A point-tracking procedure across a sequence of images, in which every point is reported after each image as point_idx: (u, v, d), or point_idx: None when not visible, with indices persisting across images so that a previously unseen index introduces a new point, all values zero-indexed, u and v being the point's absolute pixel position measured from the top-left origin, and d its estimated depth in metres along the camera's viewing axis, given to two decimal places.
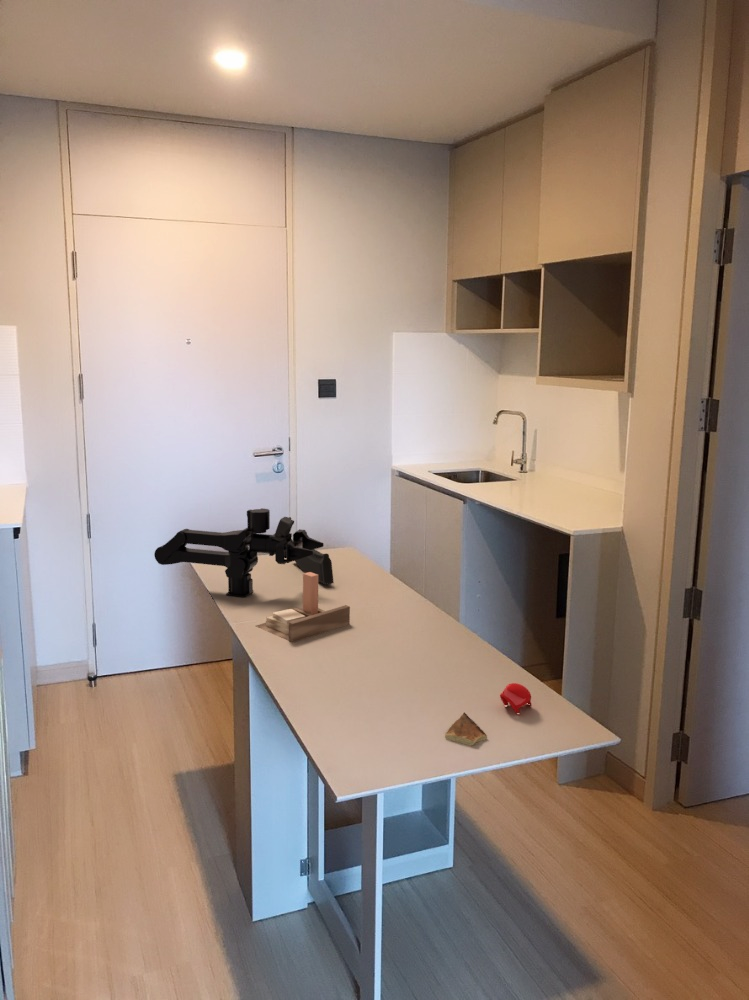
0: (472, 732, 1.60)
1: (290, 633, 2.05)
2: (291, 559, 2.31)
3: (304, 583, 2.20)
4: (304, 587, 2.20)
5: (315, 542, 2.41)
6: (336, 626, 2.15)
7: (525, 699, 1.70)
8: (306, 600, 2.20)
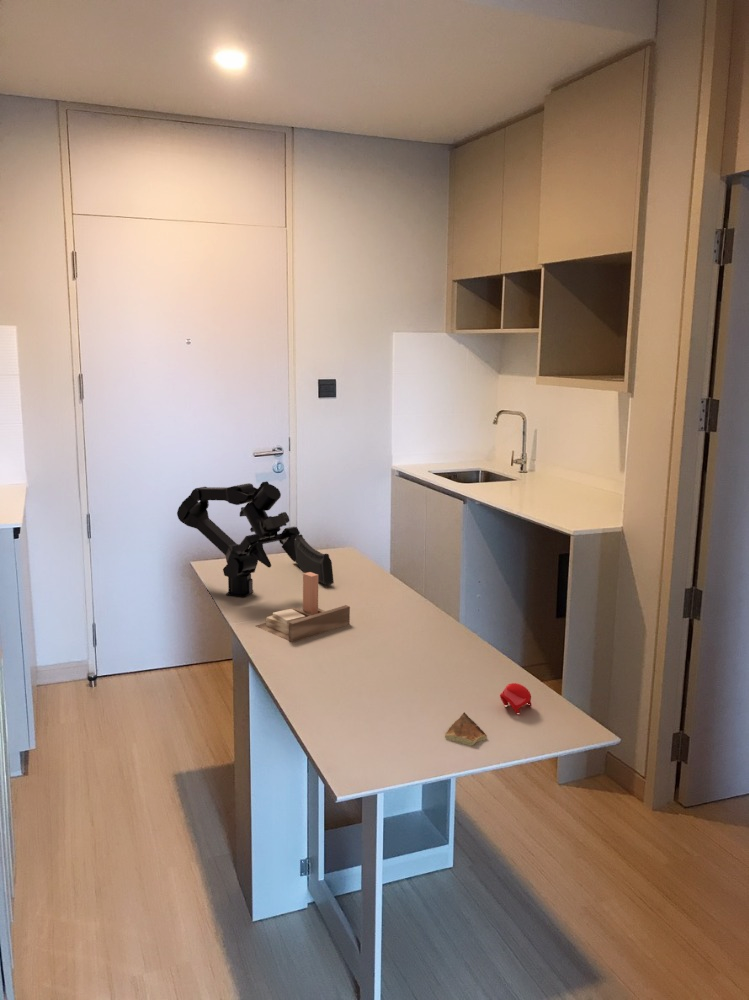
0: (472, 732, 1.60)
1: (290, 633, 2.05)
2: (252, 554, 2.29)
3: (304, 583, 2.20)
4: (304, 587, 2.20)
5: (292, 552, 2.33)
6: (336, 626, 2.15)
7: (525, 699, 1.70)
8: (306, 600, 2.20)
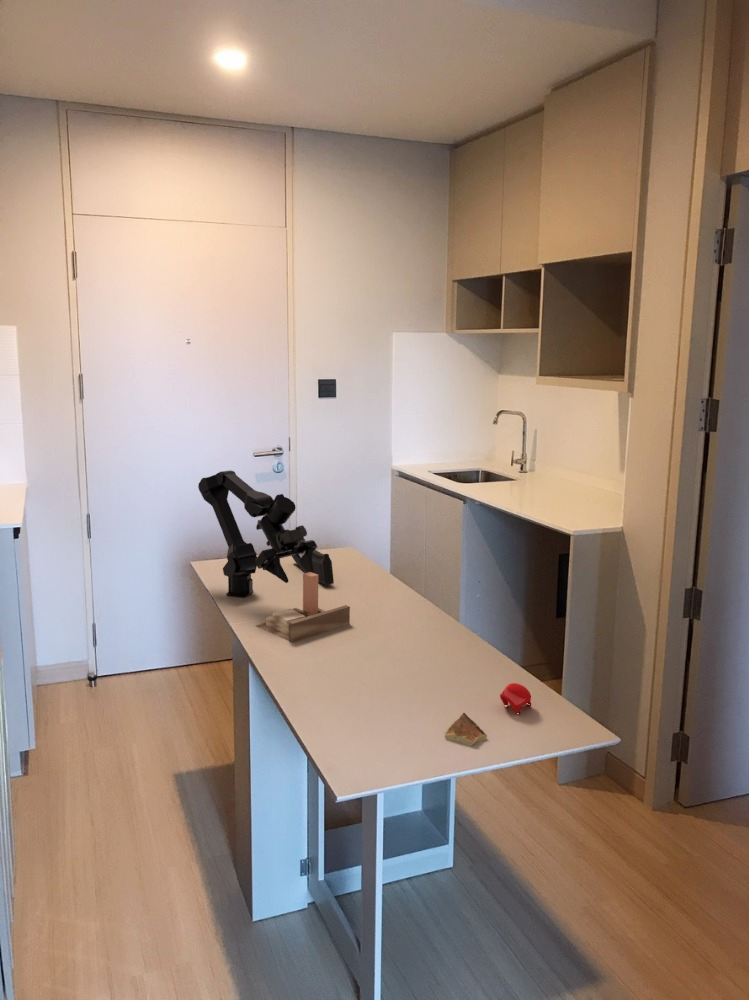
0: (471, 732, 1.60)
1: (290, 633, 2.05)
2: (268, 569, 2.22)
3: (304, 583, 2.20)
4: (304, 587, 2.20)
5: (309, 567, 2.26)
6: (336, 626, 2.15)
7: (525, 699, 1.70)
8: (306, 600, 2.20)
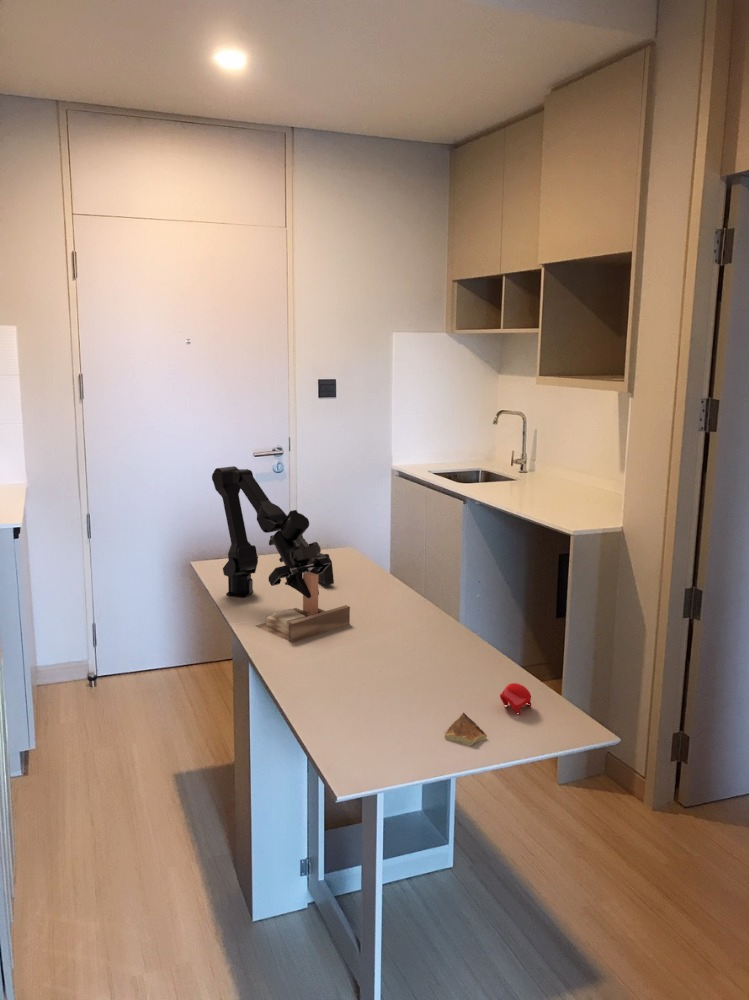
0: (471, 732, 1.60)
1: (290, 633, 2.05)
2: (291, 584, 2.21)
3: None
4: None
5: None
6: (336, 626, 2.15)
7: (525, 699, 1.70)
8: (306, 600, 2.20)
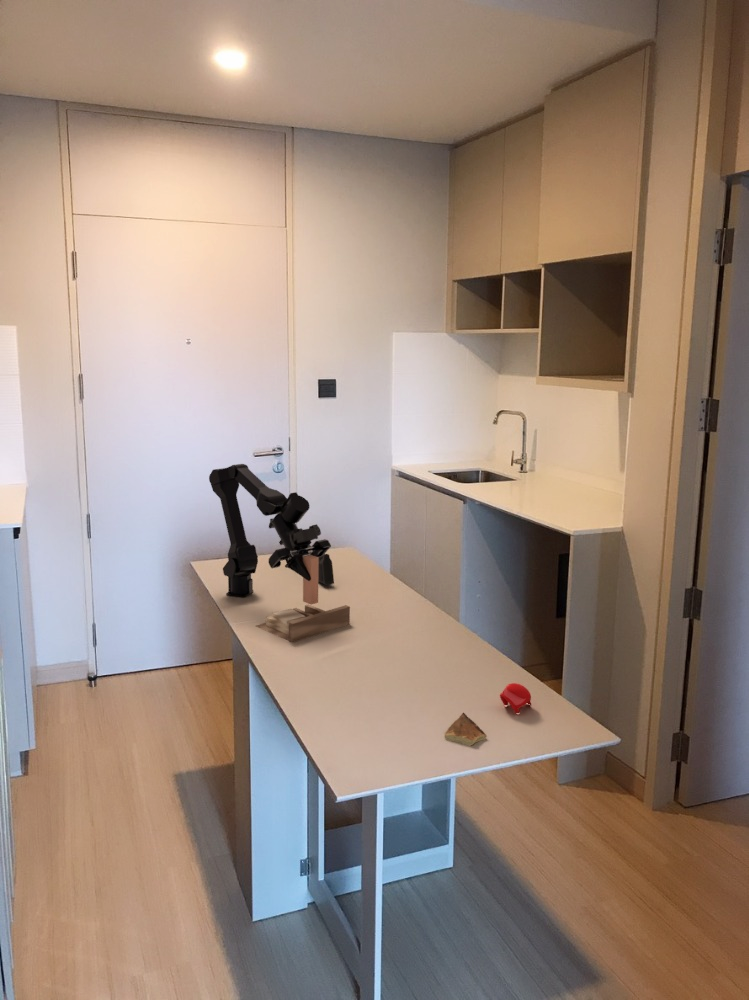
0: (471, 732, 1.60)
1: (290, 633, 2.05)
2: (291, 567, 2.20)
3: None
4: None
5: None
6: (336, 626, 2.15)
7: (525, 699, 1.70)
8: (306, 582, 2.19)
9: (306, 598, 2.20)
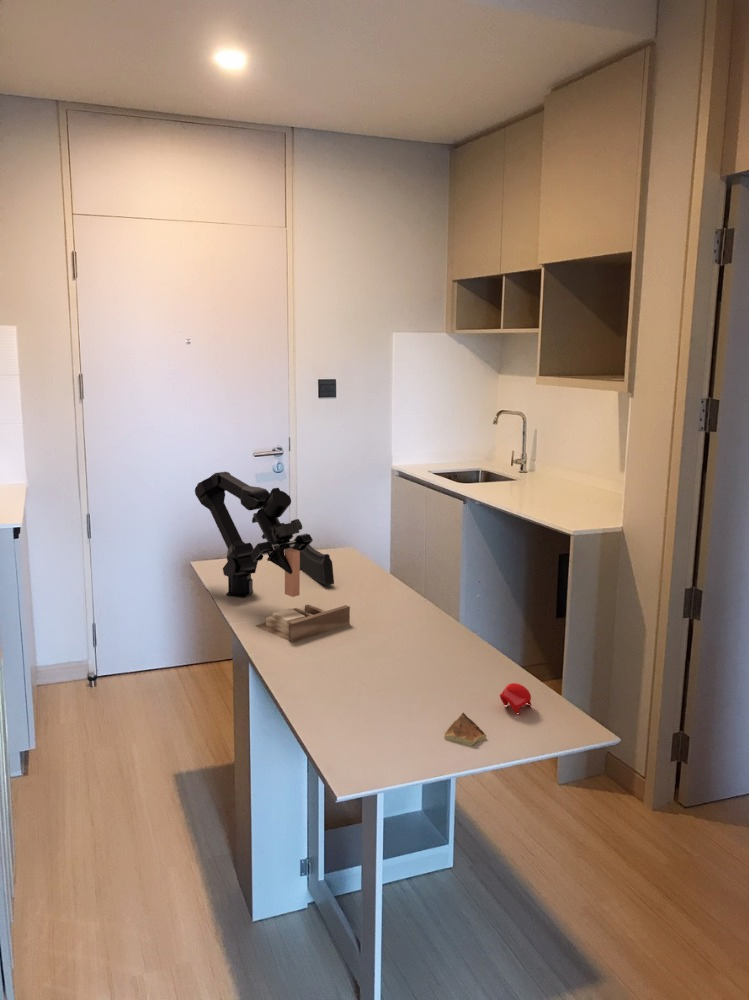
0: (471, 732, 1.60)
1: (290, 633, 2.05)
2: (273, 560, 2.25)
3: None
4: None
5: None
6: (336, 626, 2.15)
7: (525, 699, 1.70)
8: (288, 575, 2.24)
9: (288, 590, 2.26)
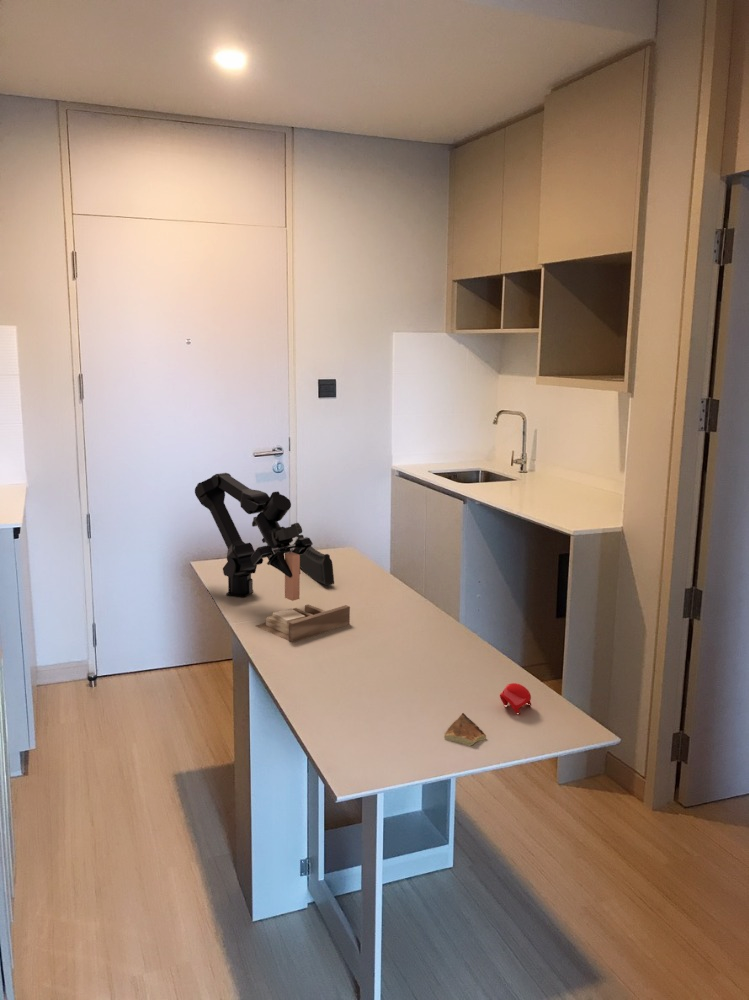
0: (471, 732, 1.60)
1: (290, 633, 2.05)
2: (273, 564, 2.25)
3: None
4: None
5: None
6: (336, 626, 2.15)
7: (525, 699, 1.70)
8: (288, 579, 2.25)
9: (288, 594, 2.26)
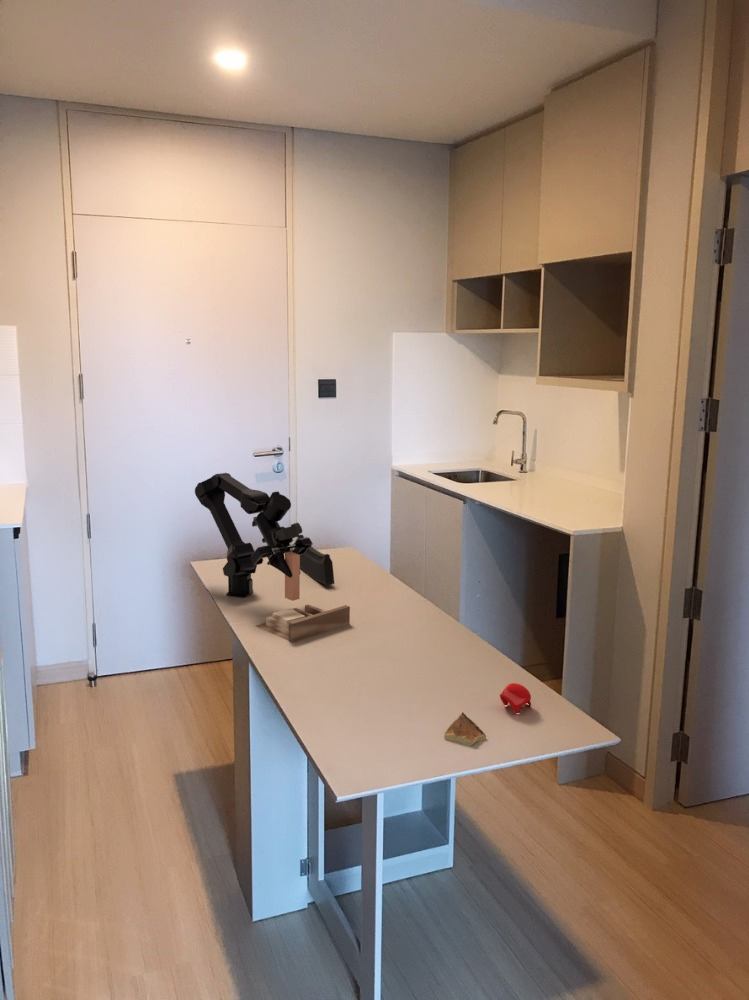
0: (471, 732, 1.60)
1: (290, 633, 2.05)
2: (273, 564, 2.25)
3: None
4: None
5: None
6: (336, 626, 2.15)
7: (525, 699, 1.70)
8: (288, 579, 2.25)
9: (288, 594, 2.26)
